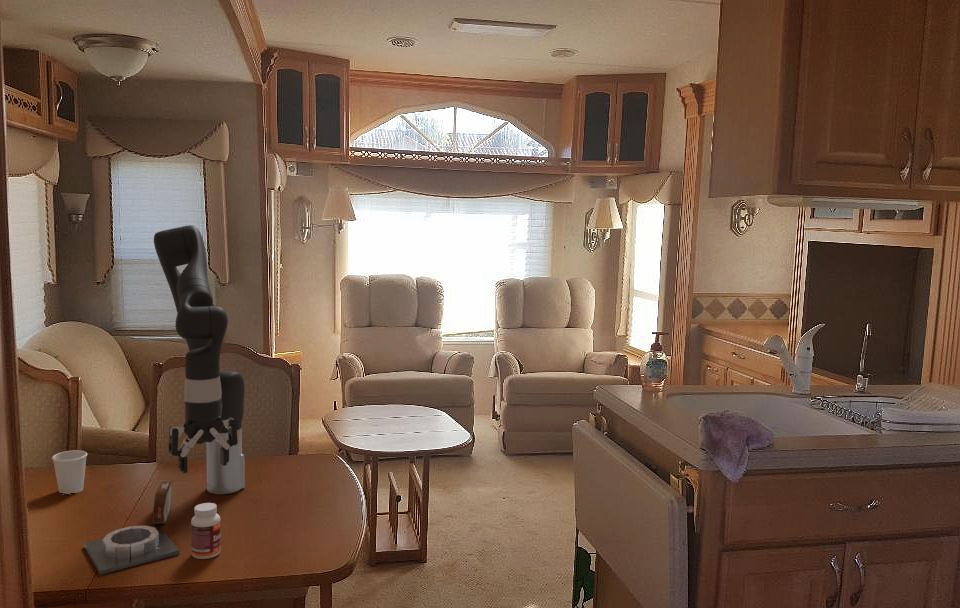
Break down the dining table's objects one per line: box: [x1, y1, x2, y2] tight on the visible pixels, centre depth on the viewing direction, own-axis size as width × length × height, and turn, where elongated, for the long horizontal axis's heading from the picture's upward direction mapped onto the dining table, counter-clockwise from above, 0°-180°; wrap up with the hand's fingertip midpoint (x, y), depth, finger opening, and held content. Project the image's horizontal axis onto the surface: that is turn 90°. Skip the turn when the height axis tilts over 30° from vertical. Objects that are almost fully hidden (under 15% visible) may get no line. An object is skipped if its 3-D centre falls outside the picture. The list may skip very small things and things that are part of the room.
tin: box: [152, 479, 173, 525], centre depth 181 cm, size 15×3×8 cm, turn 16°
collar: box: [83, 525, 180, 576], centre depth 163 cm, size 16×16×4 cm
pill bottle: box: [190, 502, 222, 560], centre depth 162 cm, size 6×6×11 cm
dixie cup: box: [51, 449, 88, 495], centre depth 196 cm, size 8×8×10 cm
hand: (204, 468), depth 160 cm, fingers open, 8 cm apart
